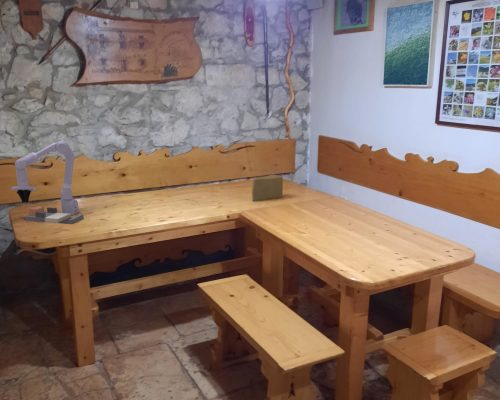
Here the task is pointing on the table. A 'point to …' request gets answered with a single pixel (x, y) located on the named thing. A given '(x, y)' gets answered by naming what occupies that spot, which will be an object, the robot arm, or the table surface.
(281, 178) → the olive upright slab
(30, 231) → the table surface
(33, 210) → the block
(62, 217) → the tunnel deck
